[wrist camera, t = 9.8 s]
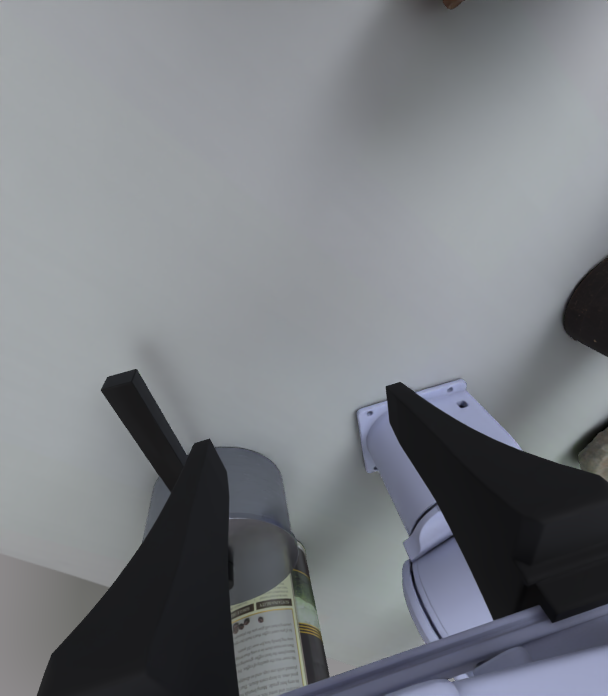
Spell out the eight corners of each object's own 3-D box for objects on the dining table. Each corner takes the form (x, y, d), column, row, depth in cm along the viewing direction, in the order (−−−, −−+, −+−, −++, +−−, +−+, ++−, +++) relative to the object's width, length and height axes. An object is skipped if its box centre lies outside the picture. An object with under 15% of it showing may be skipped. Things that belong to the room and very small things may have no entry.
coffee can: (324, 543, 37) (371, 729, 25) (273, 592, 40) (294, 778, 29) (241, 525, 33) (251, 742, 21) (192, 582, 36) (176, 798, 24)
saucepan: (227, 315, 21) (228, 387, 15) (297, 509, 33) (315, 596, 27) (43, 365, 21) (-39, 463, 14) (181, 545, 32) (170, 644, 26)
